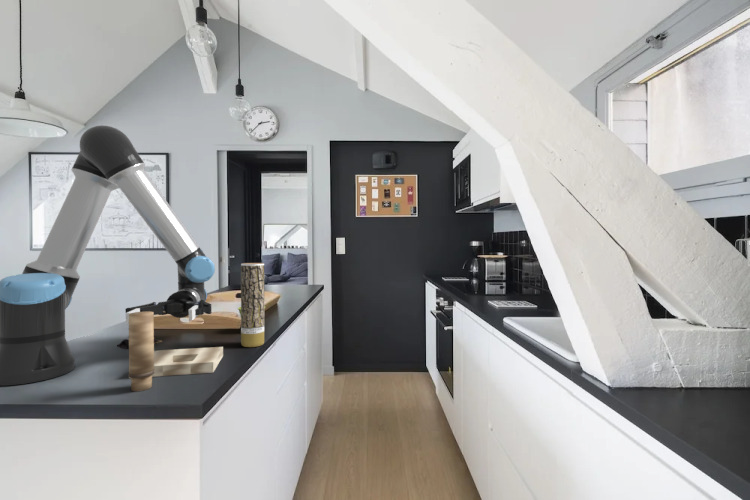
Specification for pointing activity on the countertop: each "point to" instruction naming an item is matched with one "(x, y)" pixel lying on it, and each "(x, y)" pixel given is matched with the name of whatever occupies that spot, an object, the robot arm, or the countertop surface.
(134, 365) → the peg
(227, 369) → the countertop surface
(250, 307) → the paper tube
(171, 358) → the board
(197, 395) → the countertop surface
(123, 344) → the brown beetle
